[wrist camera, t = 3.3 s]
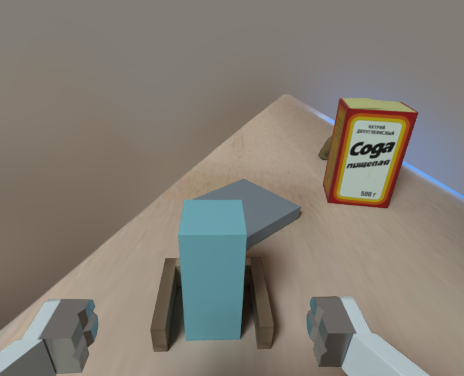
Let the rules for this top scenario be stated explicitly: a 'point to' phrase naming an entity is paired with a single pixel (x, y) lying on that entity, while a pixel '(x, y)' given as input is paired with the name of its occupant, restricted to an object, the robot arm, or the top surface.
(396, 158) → the baking soda box
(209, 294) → the teal block
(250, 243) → the slate tile
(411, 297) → the top surface
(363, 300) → the top surface
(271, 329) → the walnut cubby
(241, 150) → the top surface
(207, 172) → the top surface
